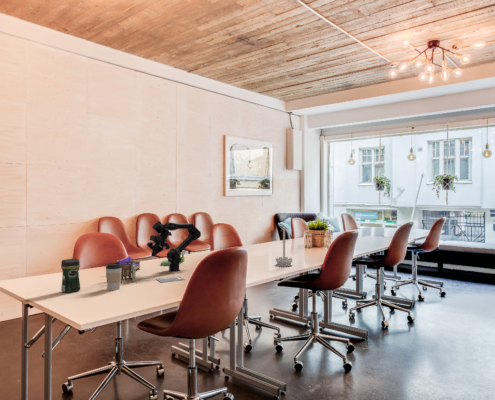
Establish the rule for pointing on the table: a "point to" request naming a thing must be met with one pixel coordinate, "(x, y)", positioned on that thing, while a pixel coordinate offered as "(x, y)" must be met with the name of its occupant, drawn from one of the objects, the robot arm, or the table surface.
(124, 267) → the walnut fence section
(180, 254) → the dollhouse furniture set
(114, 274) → the coffee cup
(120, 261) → the toy sofa
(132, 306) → the table surface
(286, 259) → the flag stand
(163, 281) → the card
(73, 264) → the coffee jar
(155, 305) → the table surface
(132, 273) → the sage fence section
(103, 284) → the table surface
